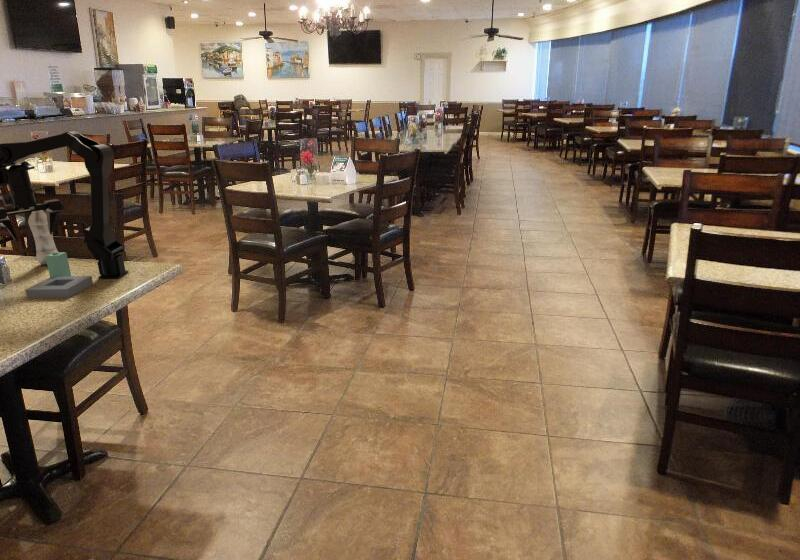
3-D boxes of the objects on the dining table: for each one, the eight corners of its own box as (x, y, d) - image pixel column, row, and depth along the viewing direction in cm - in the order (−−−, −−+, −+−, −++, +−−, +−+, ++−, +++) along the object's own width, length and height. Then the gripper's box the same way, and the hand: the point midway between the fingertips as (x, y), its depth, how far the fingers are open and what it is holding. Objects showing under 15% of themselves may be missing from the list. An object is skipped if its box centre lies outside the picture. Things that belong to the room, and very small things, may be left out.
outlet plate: (93, 283, 171) (91, 275, 170) (68, 297, 160) (66, 289, 159) (54, 284, 172) (52, 276, 171) (27, 298, 161) (25, 289, 160)
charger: (71, 277, 179) (65, 250, 176) (63, 281, 175) (57, 253, 172) (59, 277, 179) (53, 250, 176) (51, 281, 175) (44, 254, 172)
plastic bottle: (65, 261, 197) (52, 202, 191) (51, 266, 190) (38, 206, 184) (47, 261, 197) (34, 203, 191) (33, 266, 191) (19, 207, 185)
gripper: (49, 179, 182) (61, 228, 187) (-22, 188, 170) (-7, 240, 175) (57, 182, 174) (70, 232, 179) (-16, 192, 162) (-1, 245, 167)
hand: (34, 237), depth 175 cm, fingers open, 9 cm apart
